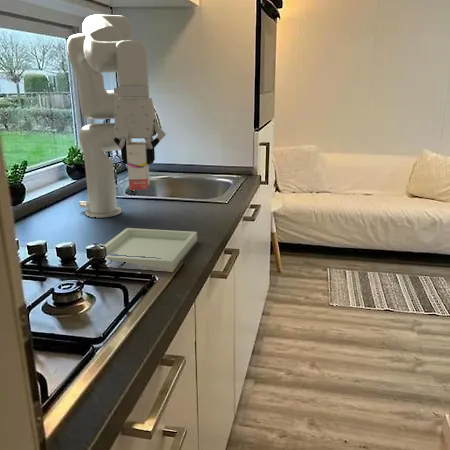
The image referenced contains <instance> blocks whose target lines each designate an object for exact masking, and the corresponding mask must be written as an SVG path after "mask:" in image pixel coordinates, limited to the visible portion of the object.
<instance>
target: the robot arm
mask: <svg viewBox="0 0 450 450" xmlns="http://www.w3.org/2000/svg"><path fill="white" fill-rule="evenodd" d="M81 26H82V27H81V29H82V33H76V34H75V33H74V34H72V35H70V36H69V37H68V39H67V41H66V50H67V55H68V59H69V62H70V64H71V66H72V69H73V71H74V73H75V77H76V81H77V89H78V91H77V92H78V97H79V99H78V100H79V105H80V106H79V107H80V110H81V115H82V116H83V118H85V119H87V120H88V119H89V120H114V122H103V123H100V122H99V123H90V124H86V125H83V126H82V127H81V128H80V129H79V135H78V137H79V143H80V144H81V149H82V153H83V160H84V169H85V177H86V179H85V180H86V188H87V198H88V199H87V201H85V200H80V201H79V208H83V209H84V208H85V210H84V211H85V212H84V214H86V215H87V217H88V216H89V217H90V218H94V217H96V218H100V219H101V218H102V219H103V218H109V217H110V218H111V217H114V216H118V215H120V214H121V213H122V208H121V207H120V206H118V205H117V196H116V195H117V194H116V182H115V171H114V170H115V169H114V163H113V161H112V160H111V158H110V157H108V156H107V155H106V152H112V151H113V152H114V151H121V152H120V153H121V160H122V163H123V165H126V164H127V165H128V163H127V149H126V134H127V133H128V139H129V138H131V142H133V139H144V141H146V144H147V146H148V149H147V150H146V155H147V164H149V165H151V164H154V162H155V160H156V156H155V148H156V147H157V146H158V145H159V143H161V141H162V140H163V139H164V138H165V137H166V134H167V133H166V132H165V131H164V130H163V129H162V128H161V127H160V126H159V125H158V124H157V118H156V112H155V107H154V103H153V98H152V97H150V92H149V91H150V88H149V73H148V72H149V71H148V54H147V53H148V51H147V46H146V43H145V42H144V41H141V40H134V39H133V27H132V23H131V22H130V21H129V19H128V18H127V17H126V16H123V15H118V14H117V15H116V14H115V15H113V14H92V15H89V16H87V17H85V19H84V20H83V22H82V25H81ZM132 39H133V40H132ZM103 73H117V84H118V85H117V87H114V88H113V89H109V90H107V89H106V88H105V82H104V76H103ZM156 135H157V136H156ZM155 136H156V137H155ZM154 137H155V138H154ZM86 215H85V216H86ZM89 217H88V218H89Z"/></svg>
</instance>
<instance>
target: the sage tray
mask: <svg viewBox="0 0 450 450" xmlns="http://www.w3.org/2000/svg"><path fill="white" fill-rule="evenodd" d="M196 243H198V232H197V231H187V230H169V229H154V228H153V229H152V228H151V229H150V228H134V227H133V228H132V227H126V228H124V229H123V230H122V231H121V232H120V233H118V234H117V235H115V236H114V237H113V238H112V239H110V240H108V241H107V242H106V243H105V244H103V246H105V247H106V249H107V253H109V254H118V255H127V256H145V257H156V258H161V259H156V258H141V257H126V256H111V255H107V259H109V260H113V261H120V262H126V263H133V264H140V265H146V266H151V267H159V268H167V269H173V268H174V267H175V266H176V265H177V264H178V263H179V261H181V260H182V261H183V260H184V259H185V258H186V256H187V255H188V254H189V252H190V251H191V250H192V249H193V248H194V246H195V245H196Z"/></svg>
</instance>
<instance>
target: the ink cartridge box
mask: <svg viewBox="0 0 450 450" xmlns="http://www.w3.org/2000/svg"><path fill="white" fill-rule="evenodd" d="M126 149H127V176H128V187H129V188H128V190H129V191H142V190H143V191H145V190H146V191H148V188H149V186H150V181H151V180H150V168H149V167H150V164H147V155H146V150H147V149H148V146H147V144H146V141H145V140H144V141H143V140H142V141H132V142H131V138H129V139H128V133H127V134H126Z"/></svg>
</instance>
